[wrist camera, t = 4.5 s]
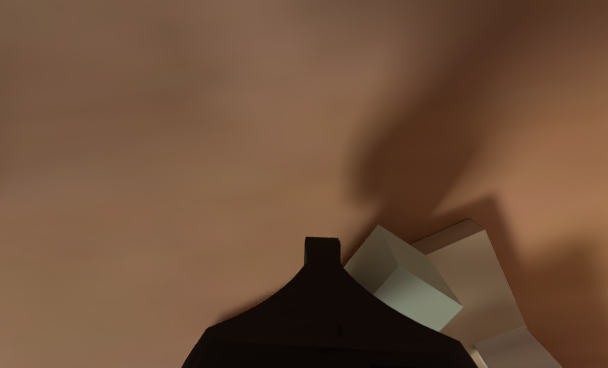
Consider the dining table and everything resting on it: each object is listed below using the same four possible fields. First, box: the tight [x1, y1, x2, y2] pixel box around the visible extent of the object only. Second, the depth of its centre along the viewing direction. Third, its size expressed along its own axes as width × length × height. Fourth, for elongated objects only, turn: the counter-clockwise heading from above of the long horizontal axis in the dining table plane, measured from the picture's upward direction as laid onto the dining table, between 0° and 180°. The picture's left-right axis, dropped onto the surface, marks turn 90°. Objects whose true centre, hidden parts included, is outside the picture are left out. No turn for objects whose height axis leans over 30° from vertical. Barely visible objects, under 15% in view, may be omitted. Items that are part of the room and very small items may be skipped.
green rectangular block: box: [344, 224, 463, 332], centre depth 11 cm, size 2×10×3 cm, turn 147°
